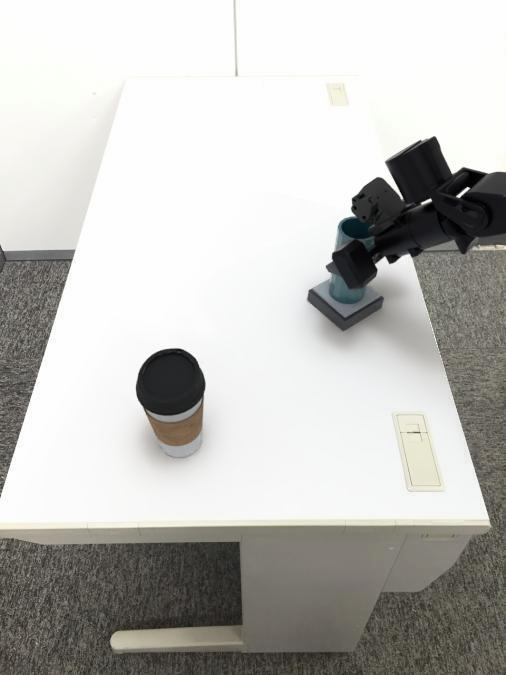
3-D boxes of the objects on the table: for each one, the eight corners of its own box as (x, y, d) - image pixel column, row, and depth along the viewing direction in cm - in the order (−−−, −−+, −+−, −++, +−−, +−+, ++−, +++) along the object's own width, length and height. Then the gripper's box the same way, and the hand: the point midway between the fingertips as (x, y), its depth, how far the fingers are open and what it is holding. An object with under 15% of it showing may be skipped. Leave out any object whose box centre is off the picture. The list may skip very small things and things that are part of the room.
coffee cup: (219, 420, 76) (213, 354, 64) (199, 473, 70) (189, 410, 59) (164, 407, 77) (149, 339, 66) (140, 457, 72) (120, 393, 60)
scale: (381, 308, 91) (385, 295, 88) (342, 331, 87) (345, 318, 85) (345, 279, 95) (347, 266, 93) (307, 300, 92) (308, 287, 89)
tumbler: (371, 298, 88) (386, 234, 78) (339, 308, 86) (351, 245, 76) (352, 275, 91) (365, 212, 82) (322, 285, 90) (330, 221, 80)
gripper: (433, 146, 74) (356, 184, 87) (353, 203, 65) (280, 237, 78) (467, 216, 76) (387, 244, 89) (395, 281, 67) (318, 301, 80)
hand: (345, 254), depth 84 cm, fingers open, 9 cm apart
